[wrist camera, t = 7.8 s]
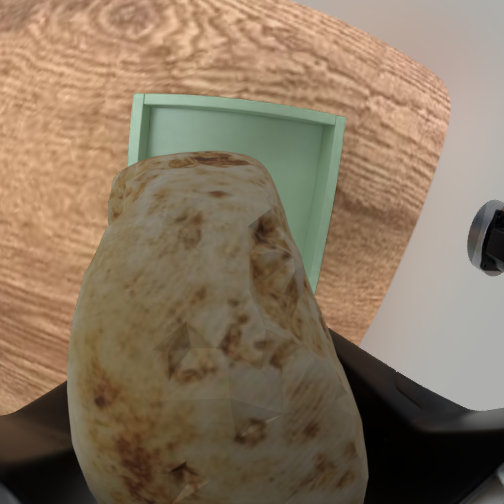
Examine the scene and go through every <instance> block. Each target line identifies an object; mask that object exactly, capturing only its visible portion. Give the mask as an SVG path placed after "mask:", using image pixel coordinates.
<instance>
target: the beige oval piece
mask: <svg viewBox="0 0 504 504" xmlns="http://www.w3.org/2000/svg"><path fill="white" fill-rule="evenodd" d="M108 224H109V226H108V227H107V228H106V230H105V233H104V235H103V237H102V239H101V242H100V244H99V247H98V249H97V251H96V254H95V256H94V258H93V260H92V261H91V263H90V265H89V267H88V268H87V270H86V272H85V276H84V279H83V282H82V286H81V290H80V293H79V297H78V301H77V304H76V308H75V312H74V316H73V320H72V326H71V334H70V342H69V351H68V368H67V394H68V407H69V418H70V427H71V436H72V444H73V447H74V450H75V453H76V456H77V459H78V462H79V464H80V467H81V470H82V472H83V475H84V477H85V480H86V482H87V485H88V487H89V489H90V491H91V493H92V494H93V496H94V498H95V499H96V501H97V503H98V504H363V502H364V497H365V492H366V487H367V482H368V465H367V455H366V449H365V442H364V435H363V427H362V420H361V417H360V414H359V411H358V408H357V405H356V403H355V400H354V397H353V394H352V391H351V388H350V385H349V383H348V380H347V377H346V375H345V372H344V369H343V367H342V364H341V363H340V361H339V359H338V358H337V354H336V351H335V348H334V345H333V342H332V338H331V335H330V333H329V330H328V328H327V326H326V323H325V321H324V318H323V316H322V313H321V311H320V309H319V306H318V304H317V301H316V299H315V296H314V294H313V291H312V288H311V285H310V282H309V280H308V277H307V274H306V271H305V268H304V264H303V261H302V258H301V254H300V251H299V249H298V247H297V245H296V243H295V241H294V239H293V237H292V234H291V231H290V228H289V225H288V221H287V218H286V215H285V211H284V208H283V205H282V202H281V199H280V196H279V194H278V191H277V188H276V186H275V183H274V181H273V179H272V177H271V175H270V173H269V172H268V170H267V169H266V168H265V166H264V165H262V164H261V162H260V161H258V160H257V159H255V158H253V157H250V156H248V155H245V154H240V153H233V152H227V151H200V152H183V153H175V154H169V155H161V156H155V157H152V158H148V159H145V160H141V161H139V162H137V163H135V164H133V165H131V166H129V167H127V168H125V169H123V170H122V171H121V172H119V173H118V174H117V175H116V176H115V177H114V179H113V184H112V190H111V194H110V198H109V201H108Z"/></svg>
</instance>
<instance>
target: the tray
mask: <svg viewBox="0 0 504 504" xmlns="http://www.w3.org/2000/svg"><path fill="white" fill-rule="evenodd" d="M345 124H346V117H343V116H339V115H334V114H329V113H325V112H320V111H315V110H310V109H304V108H299V107H293V106H287V105H281V104H274V103H267V102H260V101H252V100H244V99H235V98H225V97H214V96H200V95H183V94H144V93H135V94H134V96H133V105H132V114H131V124H130V135H129V148H128V164H127V167H129V166H131V165H133V164H135V163H137V162H139V161H141V160H145V159H148V158H152V157H155V156H161V155H169V154H175V153H183V152H200V151H227V152H233V153H240V154H245V155H248V156H250V157H253V158H255V159H257V160H258V161H260V162H261V164H262V165H264V166H265V168H266V169H267V170H268V172H269V173H270V175H271V177H272V179H273V181H274V183H275V186H276V188H277V191H278V194H279V196H280V199H281V202H282V205H283V208H284V211H285V215H286V218H287V221H288V225H289V228H290V231H291V234H292V237H293V239H294V241H295V243H296V245H297V247H298V249H299V251H300V254H301V258H302V261H303V264H304V268H305V271H306V274H307V277H308V280H309V282H310V285H311V288H312V291H313V294H314V296H315V291H316V287H317V282H318V278H319V273H320V269H321V264H322V259H323V254H324V249H325V244H326V239H327V234H328V229H329V224H330V218H331V213H332V208H333V202H334V196H335V190H336V184H337V178H338V172H339V166H340V159H341V153H342V146H343V139H344V132H345Z"/></svg>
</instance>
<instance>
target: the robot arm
mask: <svg viewBox="0 0 504 504" xmlns="http://www.w3.org/2000/svg"><path fill="white" fill-rule="evenodd" d="M480 269H482V270H484V271H498V272H504V211H503V210H500V209H496V210H495V212H494V216H493V221H492V225H491V229H490V232H489V236H488V240H487V243H486V247H485V250H484V254H483V257H482V260H481V263H480ZM327 328H328V327H327ZM328 330H329V333H330V335H331V338H332V342H333V345H334V348H335V351H336V354H337V358H338V359H339V361H340V363H341V364H342V367H343V369H344V372H345V375H346V377H347V380H348V383H349V385H350V388H351V391H352V394H353V397H354V400H355V403H356V405H357V408H358V411H359V414H360V417H361V420H362V427H363V435H364V442H365V449H366V455H367V465H368V482H367V487H366V492H365V497H364V502H363V504H504V408H500V409H494V410H488V411H475V410H470V409H467V408H465V407H462V406H460V405H458V404H456V403H454V402H452V401H450V400H448V399H446V398H444V397H442V396H440V395H438V394H436V393H434V392H432V391H430V390H428V389H427V388H425V387H423V386H421V385H419V384H417V383H416V382H414V381H412V380H411V379H409V378H407V377H406V376H404V375H402V374H401V373H399V372H396V370H394V369H393V368H391V367H389V366H388V365H386V364H385V363H383V362H382V361H380V360H378V359H377V358H375V357H373V356H372V355H370V354H369V353H367V352H366V351H364V350H362V349H361V348H359V347H358V346H356V345H355V344H353V343H351V342H350V341H348V340H347V339H345V338H344V337H342V336H341V335H339V334H337V333H336V332H334V331H333V330H331V329H330V328H328ZM0 504H98V503H97V501H96V499H95V498H94V496H93V494H92V493H91V491H90V489H89V487H88V485H87V482H86V480H85V477H84V475H83V472H82V470H81V467H80V464H79V462H78V459H77V456H76V453H75V450H74V447H73V444H72V436H71V427H70V418H69V407H68V394H67V381H65V382H64V383H62V384H60V385H59V386H57V387H56V388H54V389H53V390H51V391H49V392H48V393H46V394H45V395H43V396H41V397H40V398H38V399H36V400H35V401H33V402H31V403H30V404H28V405H26V406H25V407H23V408H21V409H20V410H18V411H16V412H14V413H11V414H8V415H2V416H0Z"/></svg>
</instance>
